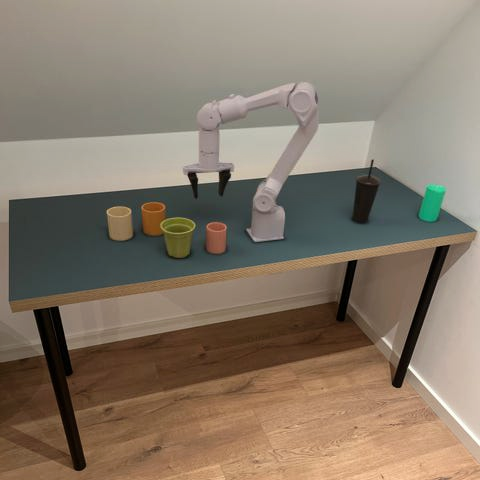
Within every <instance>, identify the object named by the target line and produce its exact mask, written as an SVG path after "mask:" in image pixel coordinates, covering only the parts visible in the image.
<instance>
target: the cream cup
mask: <svg viewBox="0 0 480 480" xmlns="http://www.w3.org/2000/svg"><path fill="white" fill-rule="evenodd" d="M132 214H133V213H132V209H131V208H129V207H126V206H113V207H110V208H108V209H107V210H106V220H107V229H108V236H109V238H110V239H112V240H114V241H117V242H120V241H127V240H130V239H132V238H133V236H134V227H133V215H132Z"/></svg>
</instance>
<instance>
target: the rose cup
mask: <svg viewBox="0 0 480 480" xmlns="http://www.w3.org/2000/svg"><path fill="white" fill-rule="evenodd" d="M205 231H206V232H205V236H206V237H205V244H206V245H205V249H206V251H207V252H208V253H210V254H214V255H219V254H223V253H225V252H226V249H227V232H228V227H227V225H226V224H225V223H223V222H219V221H218V222H217V221H215V222H210V223H207V225H206V229H205Z"/></svg>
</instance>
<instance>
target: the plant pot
mask: <svg viewBox="0 0 480 480" xmlns="http://www.w3.org/2000/svg"><path fill="white" fill-rule="evenodd" d="M160 227H161V229H162V230H163V236H164V240H165V245H166V251H167V254H168V256H169V257H173V258H175V259H183V258H186V257H187V256H188V255H190V252H191V245H192V238H193V234H194V230H195V229H196V223H195V221H193V220H191V219H189V218H185V217H171V218H166V220H164V221H163V222H162V223H161V225H160Z"/></svg>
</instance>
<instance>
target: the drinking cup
mask: <svg viewBox="0 0 480 480" xmlns="http://www.w3.org/2000/svg"><path fill="white" fill-rule="evenodd" d="M374 161H375V159H374V158H373V159H371V161H370V166H369V170H368V174H363V175H358V176H357V177H356V178H355V182H356V183H355V191H354V201H353V210H352V219H351V220H352V221H353V222H354V223H356V224H366V223H368V220H369V217H370V214H371V212H372V208H373V205H374V202H375V199H376V196H377V193H378V189H379V187H380V185H381V183H382V180H381V179H380V178H378V177H376V176H375V175H372V171H373V166H374Z"/></svg>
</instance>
